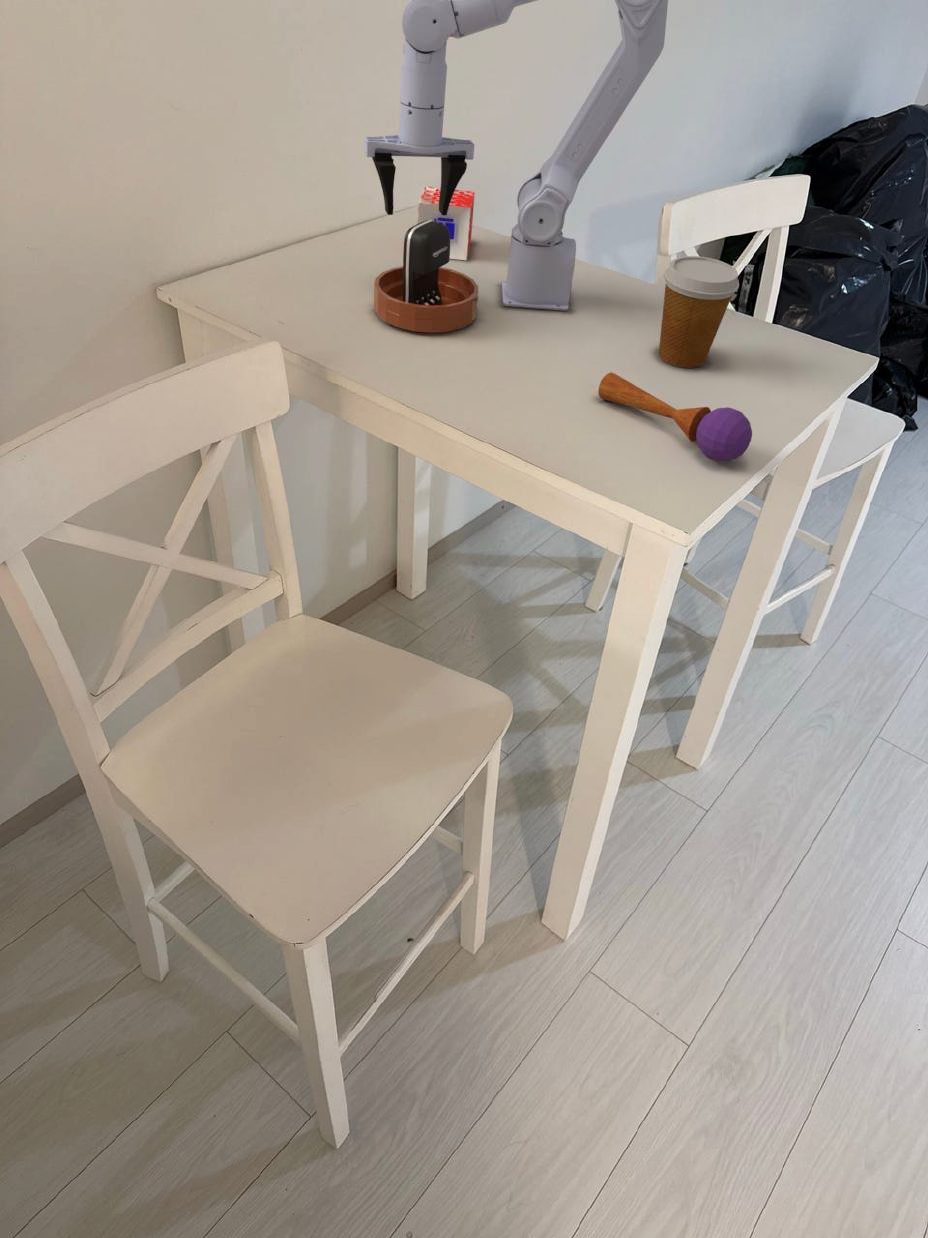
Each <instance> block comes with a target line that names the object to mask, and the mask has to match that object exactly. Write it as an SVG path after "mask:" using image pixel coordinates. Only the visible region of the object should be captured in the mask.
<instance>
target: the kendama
mask: <svg viewBox="0 0 928 1238" xmlns="http://www.w3.org/2000/svg"><path fill="white" fill-rule="evenodd" d="M597 392H598V396H599V398H600V399H602V400H604V401H609V402H612V403H616V404H619V405H623V406H627V407H629V408H634V409H637V410H641V411H644V412H648V413H652V414H655V415H658V416H662V417H666V418H669V419H672V420H673V421H674V422H675V423H676V424H677V426H678V427H679V428H680V430H681V431H682V433H684V435H685V436H686V437H687V438H688V440H689V441H690V442H691V443H697V447H698V449H699V451H701V452H702V454H703V455H704V456H705V457H706V458H707V459H710V460H711V461H714V462H724V463H725V462H732V461H734V460H736V459H738V458H740V457H742V456H743V455H744V454H745V453H746V451H747V450H748V449H749V447H750V444H751V442H752V437H753V430H752V425H751V422H750V421H749V419H748V417H746V415H745V414H744V413H743V412H742V411H740V410H738V409H735V408H732V407H717V408H715V409H713V410H711V409H710V407H709V406H700V407H691V408H681V409H677V408H675V407H673V406H671V405H670V404H668V403H666V402H665V401H663V400H661V399H659V398H658V397H656V396H655V395H653V394H651V393H649V392H647V391H645V390H644V389H642V388H641V387H639V386H637V385H636V384H634V383H632V382H630V381H629V380H626V379H625V378H623V377H621V376H620V375H618V374H616V373H614V372H612V371H611V372H608V373H607V374H605V375H604V376H603V377H602V379H601V381H600V383H599V385H598V391H597Z"/></svg>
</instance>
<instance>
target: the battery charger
mask: <svg viewBox="0 0 928 1238" xmlns="http://www.w3.org/2000/svg"><path fill="white" fill-rule="evenodd" d="M402 255H403V257H402V266H403V302H408V303H413V304H418V305H431V306H434V305H441V304H442V298H441V294H440V291H439V287H438V273H439V268H440V267H443V266H445V265H447V264H449V262H450V259H449V258H450V231H449V229H448V227H447V226H445V225H443V224H441V223H437V222H435V221H433V220H425V221H423V222H421V223H418V222H417V223H416V224H415V225H412V226H411V227H409V228H408V229H407V230H406V233H405V235H404V240H403V254H402Z"/></svg>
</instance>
